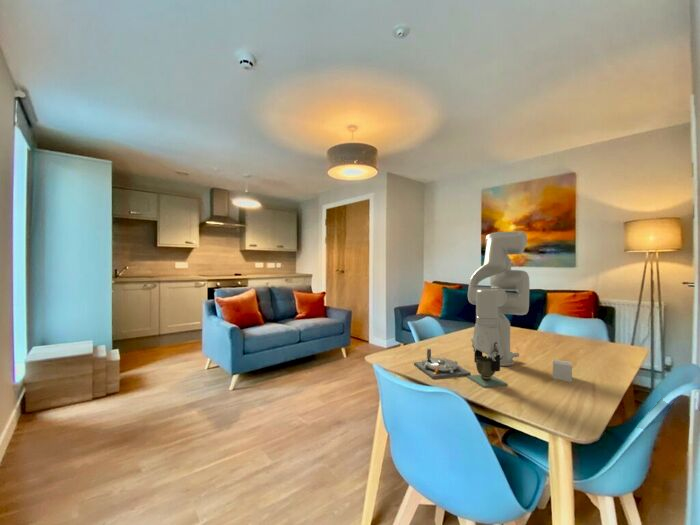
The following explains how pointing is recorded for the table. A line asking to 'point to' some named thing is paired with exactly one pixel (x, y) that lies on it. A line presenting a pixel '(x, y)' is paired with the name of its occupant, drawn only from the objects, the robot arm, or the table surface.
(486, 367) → the cup
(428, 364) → the sprocket wheel
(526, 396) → the table surface
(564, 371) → the grey cube
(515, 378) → the table surface
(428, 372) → the index board
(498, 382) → the seat mat
